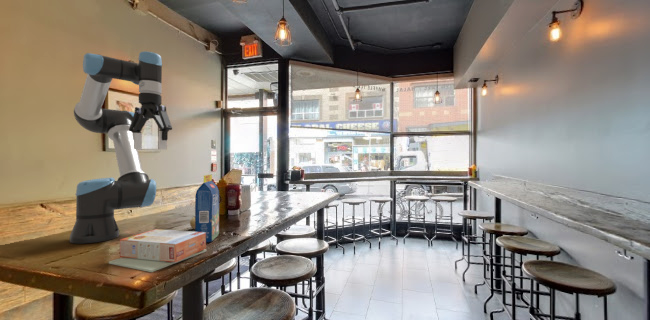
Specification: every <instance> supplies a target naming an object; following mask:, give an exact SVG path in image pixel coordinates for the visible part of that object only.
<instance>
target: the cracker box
mask: <svg viewBox="0 0 650 320" xmlns="http://www.w3.org/2000/svg"><path fill="white" fill-rule="evenodd" d="M204 249H206V250H207V242H206V232H195V231H193V230H192V231H190V230H189V231H188V230H175V229H174V230H173V229H161V228H160V229H159V228H155V229H151V230H147V231H144V232H141V233H138V234H134V235H131V236H126V237H124V238H121V239H119V258H122V257H125V258H135V259H144V260H154V261H164V262H174V263H175V264H177V263H179V262H178V261H180V260H182V259H184V258H187V257H189V256H191V255H193V254H195V253H197V252H200V251H202V250H204ZM176 262H177V263H176ZM180 262H181V261H180Z"/></svg>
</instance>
